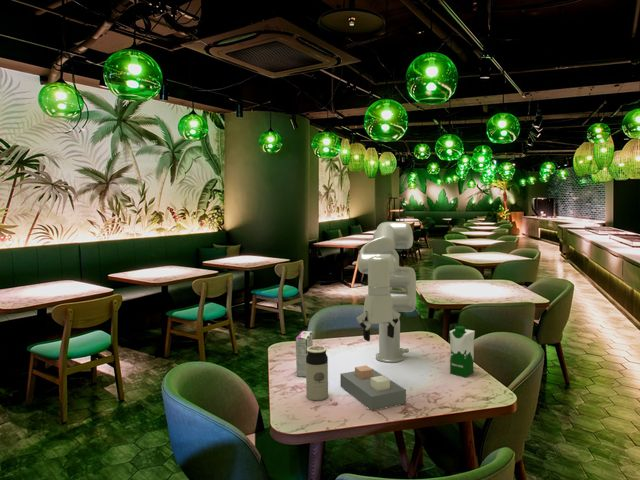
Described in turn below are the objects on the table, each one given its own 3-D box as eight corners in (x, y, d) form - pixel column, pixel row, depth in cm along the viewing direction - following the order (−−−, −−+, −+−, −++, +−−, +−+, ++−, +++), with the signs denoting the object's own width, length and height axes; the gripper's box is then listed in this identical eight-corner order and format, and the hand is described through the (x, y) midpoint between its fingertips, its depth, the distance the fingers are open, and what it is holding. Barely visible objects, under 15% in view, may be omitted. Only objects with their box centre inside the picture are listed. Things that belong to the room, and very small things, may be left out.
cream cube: (382, 388, 165) (382, 375, 165) (389, 393, 160) (389, 380, 160) (370, 391, 163) (370, 377, 163) (377, 396, 158) (377, 382, 158)
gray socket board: (371, 380, 181) (371, 368, 181) (406, 403, 159) (406, 389, 159) (340, 386, 176) (340, 373, 175) (371, 411, 154) (371, 396, 153)
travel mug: (307, 392, 170) (306, 345, 169) (328, 392, 170) (327, 345, 169) (305, 400, 162) (305, 351, 161) (327, 401, 162) (327, 351, 161)
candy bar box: (302, 367, 197) (301, 330, 196) (313, 368, 196) (313, 331, 195) (295, 376, 186) (295, 337, 185) (307, 377, 185) (307, 338, 184)
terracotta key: (366, 377, 176) (366, 365, 176) (372, 382, 171) (372, 369, 171) (354, 379, 174) (354, 367, 174) (361, 384, 169) (361, 371, 169)
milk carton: (447, 373, 188) (447, 326, 187) (457, 368, 194) (457, 322, 193) (467, 378, 182) (467, 330, 181) (476, 372, 188) (477, 325, 187)
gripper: (393, 287, 167) (393, 333, 168) (352, 291, 160) (352, 338, 161) (405, 290, 160) (405, 338, 161) (362, 294, 153) (362, 344, 154)
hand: (378, 338), depth 161 cm, fingers open, 9 cm apart
